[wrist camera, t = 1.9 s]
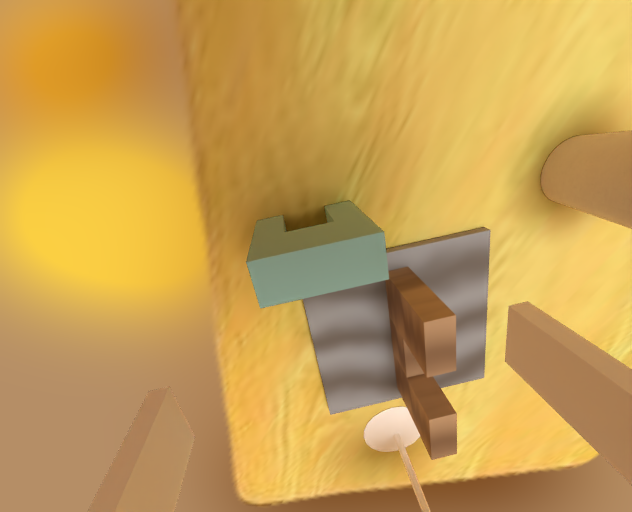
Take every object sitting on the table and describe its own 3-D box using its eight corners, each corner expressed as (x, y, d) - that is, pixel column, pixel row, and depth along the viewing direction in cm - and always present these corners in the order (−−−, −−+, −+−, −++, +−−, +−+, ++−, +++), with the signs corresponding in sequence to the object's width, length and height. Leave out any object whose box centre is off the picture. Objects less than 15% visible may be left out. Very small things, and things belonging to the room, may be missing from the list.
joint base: (295, 269, 30) (303, 327, 21) (484, 227, 31) (570, 265, 22) (329, 407, 38) (345, 494, 29) (479, 371, 39) (541, 445, 30)
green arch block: (256, 220, 28) (246, 262, 19) (350, 200, 28) (384, 231, 19) (266, 254, 29) (260, 308, 20) (354, 234, 30) (389, 279, 20)
